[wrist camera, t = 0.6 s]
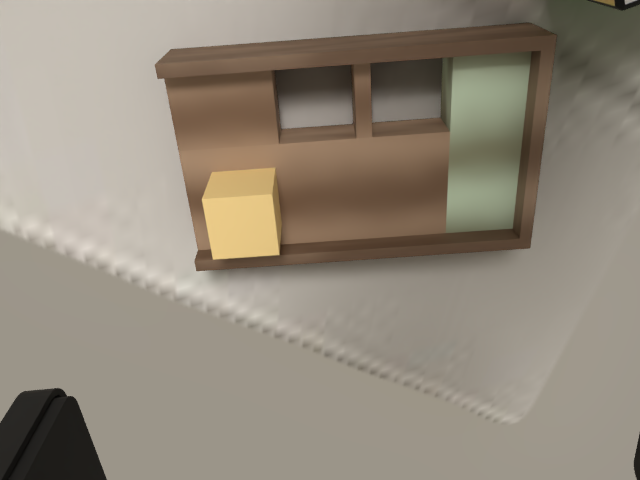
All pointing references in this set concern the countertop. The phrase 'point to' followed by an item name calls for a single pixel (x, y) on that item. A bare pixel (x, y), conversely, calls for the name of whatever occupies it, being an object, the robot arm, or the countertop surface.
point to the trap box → (373, 144)
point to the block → (243, 213)
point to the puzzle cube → (618, 3)
